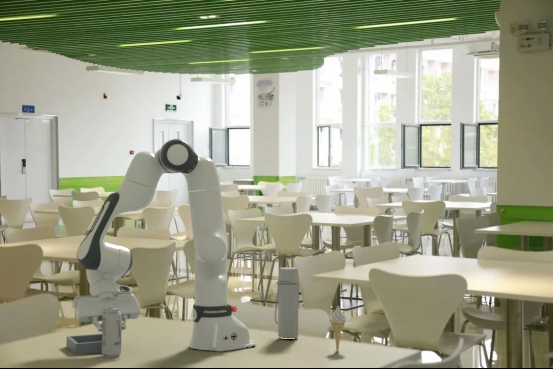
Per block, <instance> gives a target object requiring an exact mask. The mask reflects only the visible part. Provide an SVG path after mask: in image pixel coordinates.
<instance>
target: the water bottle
mask: <svg viewBox="0 0 553 369" xmlns="http://www.w3.org/2000/svg"><path fill="white" fill-rule="evenodd" d="M298 269H299V268H298V267H294V266H293V267H290V266H289V267H287V266H286V267H284V266H283V267H279V269H278V277H277V279H278V281H276V284H277V292H276V299H275V310H274V323H275V324H277V325H278V326H277V337H278V336H279V337H282V338H296V339H298V338H299V292H300V291H299V290H300V287H299V285H300V284H299V283H300V282H299V281H300V278H299V270H298ZM277 313H278V314H277ZM277 316H278V317H277ZM277 319H278V320H277ZM279 337H278V338H279Z"/></svg>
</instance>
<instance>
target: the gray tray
mask: <svg viewBox="0 0 553 369" xmlns="http://www.w3.org/2000/svg"><path fill="white" fill-rule="evenodd" d="M66 348H67V349H68V350H69V351H71V353H73V354H74V355H75V356H77V355H78V356H79V355H90V354H100V353H101V354H102V333H95V334H94V333H93V334H80V335H79V334H78V335H67V336H66Z"/></svg>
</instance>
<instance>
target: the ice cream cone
mask: <svg viewBox="0 0 553 369" xmlns="http://www.w3.org/2000/svg"><path fill="white" fill-rule="evenodd" d="M329 322H330V324H331V328H333V330H334V339H335V349H336V351H339V348H340V340H341V332H342V330H343V328H345V323H347V318H346V317H345V315H344V313H343V312H342V310H341V308H340V306H339V305H337V307H336V308H335V310H334V311H333V312H332V314H331V316H330V317H329Z"/></svg>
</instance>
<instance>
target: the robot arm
mask: <svg viewBox="0 0 553 369" xmlns="http://www.w3.org/2000/svg"><path fill="white" fill-rule="evenodd" d="M218 172H219V171H218V169H217V166H216V163H215V161H214V160H213V159H212V158H209V157H206V156H200V157H199V156H198V154H197V152H195V150H194V149H193V147H192V146H191V145H190V144H189V143H188V142H187V141H186V140H184V139H182V138H181V139H180V138H173V139H169V140H168V141H166V142H165V143H164V144H162V145H161V147H160V148H159V150H157V151H156V152H150V151H140V152H137V153H136V154H135V155H134V157H133V158H132V159H131V162H130V163H129V166H128V168H127V170H126V173H125V175H124V179H123V181H122V183H121V185H120V186H119V188H117V190H116V191H115V192H112V193H110V194H109V195H108V196H107V197H106V199H105V200H104V202H103V204H102V205H101V208H100V210H99V211H98V214H97V215H96V217H95V220H94V221H93V223H92V225H91V227H90V229H89V231H88V233H87V234H86V235H85V237H84V239H83V240H82V241H81V243H80V245H79V246H78V249H77V252H76V259H77V261H78V263H79V265H80V267H82V269H84V270H86V279H87V281H88V282H87V283H89V295H88V294H87V295H77V296H76V297H75V298H74V299H73V305H74V307H75V308H76V310H75V313H76V314H75V317H76V320H77V322H79V323H90V322H91V323H92V325H93V326H94V327H95V328H96V330H97V332H98V333H99V332H100V333H102V331H103V324H102V323H100V322H102V314H103V312H104V308H110V307H116V308H120V312H121V314H122V323H121V331H126V328H127V321H128V320H135V319H136V320H137V319H138V318H139V316H140V314H141V306H140V303H139V300H138V298H137V297H136V296H135V294H133V291H134V290H133V287H131V286H127V285H123V284H119V283H117V282H116V281H117V280H119V279H121V278H122V277H124V276H125V275H126V274H128V272H130V271H131V269H132V267H133V260H134V259H133V254H132V251H131V250H130V249H129V247H127V246H123V245H119V244H115V243H112V242H107V241H104V239H105V237H106V235H107V233H108V232H109V229H110V228H111V226H112V223H113V221H114V219H115V218H116V217H118V216H119V215H122V214H125V213H129V212H137V211H140V210H144V209H145V208H147V207H148V206H150V205H151V203H152V201H153V199H154V196H155V194H156V192H157V191H156V190H157V187H158V183H159V181H160V179H161V177H162V176H163V175H164V174H182V175H183V177H184V178H185V180H186V184H187V186H186V187H187V194H188V202H189V212H190V219H191V220H190V221H191V228H192V237H193V247H194V300H193V301H194V304H193V305H192V321H193V325H192V332H191V333H192V334H191V338H190V340H189V348H191V349H194V350H200V351H201V350H202V351H214V352H226V351H233V350H239V349H240V350H241V349H247V347H248V348H253V347H252V346H255V347H257V343H256V341H255V340H253V339H252V338H250V334H249V329H248V327H247V325H245V324H244V323H243V322H242V321H241V320H239V319H238V318H237V317H235V316H234V315H233V313H237V312H238V307H237V306H236V305H231V304H229V303H228V253H229V243H228V242H229V241H228V235H227V227H226V221H225V214H224V204H223V197H222V189H221V187H222V186H221V182H220V176H219V173H218Z"/></svg>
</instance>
